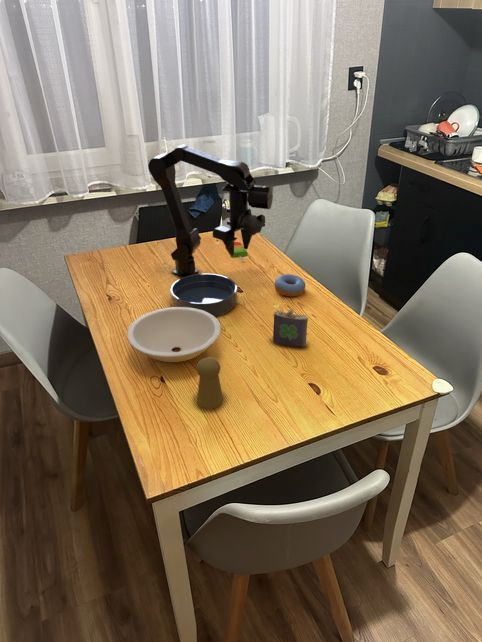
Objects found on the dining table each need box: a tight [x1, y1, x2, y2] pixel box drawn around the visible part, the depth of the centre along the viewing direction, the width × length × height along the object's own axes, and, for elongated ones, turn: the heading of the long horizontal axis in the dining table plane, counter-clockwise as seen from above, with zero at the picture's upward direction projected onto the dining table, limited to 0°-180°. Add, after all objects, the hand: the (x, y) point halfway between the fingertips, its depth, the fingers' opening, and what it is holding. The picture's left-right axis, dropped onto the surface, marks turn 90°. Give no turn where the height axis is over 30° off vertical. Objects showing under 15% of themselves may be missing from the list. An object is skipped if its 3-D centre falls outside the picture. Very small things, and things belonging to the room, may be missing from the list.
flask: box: [272, 308, 309, 349], centre depth 132 cm, size 9×3×11 cm, turn 74°
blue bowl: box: [169, 273, 238, 318], centre depth 153 cm, size 20×20×5 cm
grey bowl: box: [126, 306, 222, 363], centre depth 130 cm, size 24×24×7 cm
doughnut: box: [274, 273, 306, 297], centre depth 160 cm, size 10×10×5 cm
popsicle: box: [224, 241, 249, 264], centre depth 162 cm, size 6×15×2 cm, turn 17°
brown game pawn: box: [196, 357, 224, 410], centre depth 112 cm, size 6×6×11 cm
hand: (238, 252), depth 162 cm, fingers closed on popsicle, 7 cm apart
